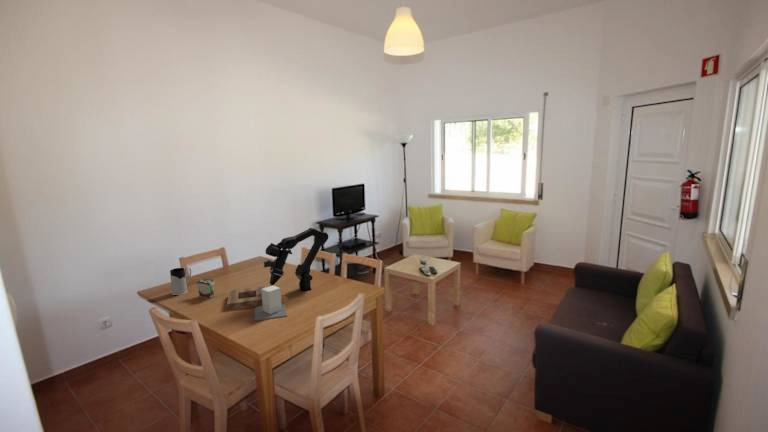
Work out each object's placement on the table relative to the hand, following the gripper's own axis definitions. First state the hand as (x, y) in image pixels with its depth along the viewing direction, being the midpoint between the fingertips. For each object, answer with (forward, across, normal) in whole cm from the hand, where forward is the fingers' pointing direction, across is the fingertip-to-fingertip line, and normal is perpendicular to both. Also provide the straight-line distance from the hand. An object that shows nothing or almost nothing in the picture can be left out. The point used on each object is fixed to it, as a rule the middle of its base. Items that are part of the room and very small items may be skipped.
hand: (271, 284), depth 206 cm
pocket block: (+13, -8, -8) cm, 17 cm away
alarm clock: (+19, -23, -29) cm, 42 cm away
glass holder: (+23, -37, -44) cm, 62 cm away
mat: (+12, +14, +4) cm, 19 cm away
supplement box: (+12, +13, +4) cm, 18 cm away
